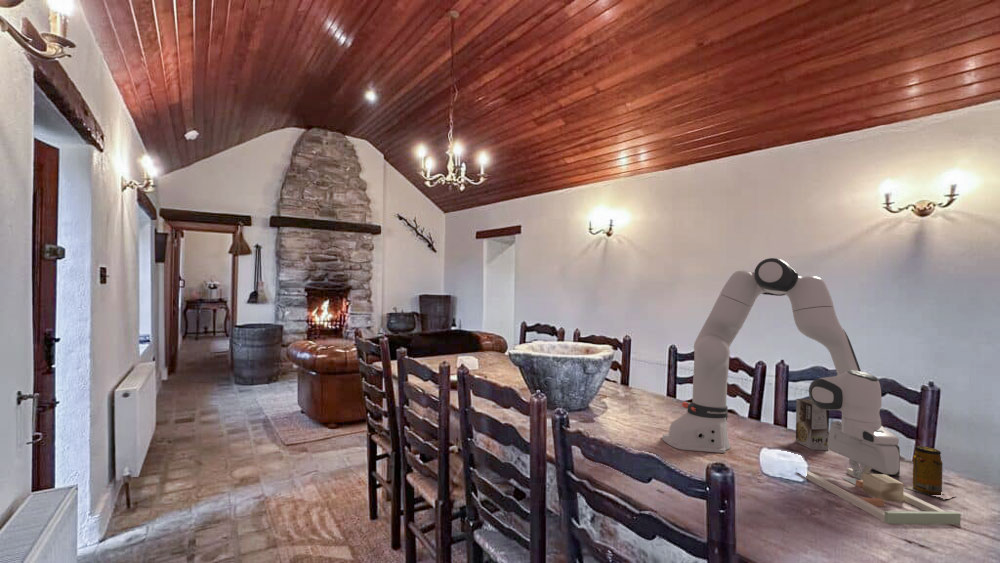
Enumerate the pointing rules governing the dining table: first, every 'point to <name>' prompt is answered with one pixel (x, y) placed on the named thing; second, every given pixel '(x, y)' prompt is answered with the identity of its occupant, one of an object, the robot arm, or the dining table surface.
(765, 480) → the dining table surface
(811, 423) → the coffee box
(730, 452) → the dining table surface
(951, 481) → the dining table surface
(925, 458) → the condiment
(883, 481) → the oak block
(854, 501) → the frame
